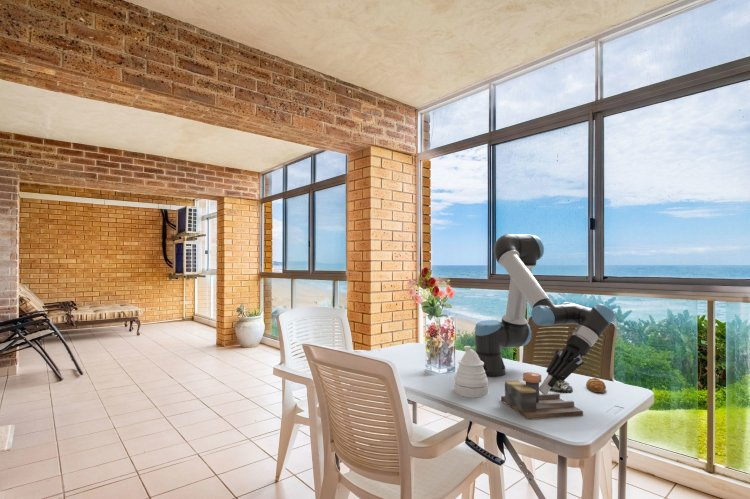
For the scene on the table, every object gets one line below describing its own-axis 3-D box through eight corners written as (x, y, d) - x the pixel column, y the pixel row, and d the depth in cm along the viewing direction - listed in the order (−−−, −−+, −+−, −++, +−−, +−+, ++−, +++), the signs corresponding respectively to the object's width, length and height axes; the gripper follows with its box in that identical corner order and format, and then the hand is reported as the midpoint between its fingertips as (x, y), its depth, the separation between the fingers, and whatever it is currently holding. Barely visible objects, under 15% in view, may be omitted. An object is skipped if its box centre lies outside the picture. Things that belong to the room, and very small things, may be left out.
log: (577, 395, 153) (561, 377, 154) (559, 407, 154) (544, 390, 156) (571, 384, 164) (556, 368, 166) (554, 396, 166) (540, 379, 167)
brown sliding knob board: (501, 400, 146) (500, 378, 147) (550, 397, 150) (550, 375, 150) (527, 419, 129) (527, 394, 129) (582, 415, 132) (582, 390, 132)
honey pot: (471, 399, 147) (471, 351, 148) (447, 390, 158) (447, 345, 159) (495, 393, 154) (494, 347, 155) (471, 384, 165) (470, 341, 165)
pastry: (609, 394, 153) (608, 384, 153) (589, 393, 155) (589, 383, 155) (603, 387, 162) (603, 378, 162) (584, 386, 164) (584, 376, 164)
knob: (520, 400, 141) (519, 372, 141) (535, 399, 142) (535, 371, 142) (529, 406, 135) (528, 377, 136) (545, 405, 136) (544, 376, 136)
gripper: (601, 351, 136) (560, 405, 133) (576, 344, 149) (538, 393, 146) (587, 337, 136) (545, 390, 132) (562, 331, 149) (524, 379, 145)
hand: (541, 392), depth 139 cm, fingers closed
